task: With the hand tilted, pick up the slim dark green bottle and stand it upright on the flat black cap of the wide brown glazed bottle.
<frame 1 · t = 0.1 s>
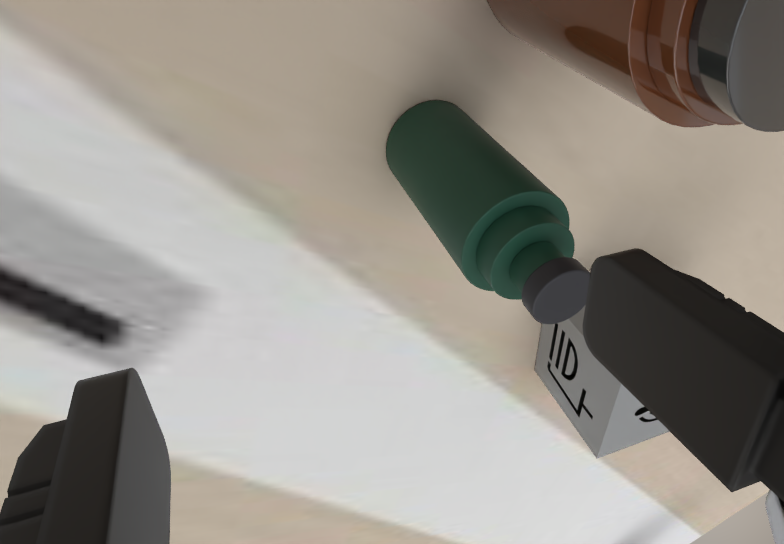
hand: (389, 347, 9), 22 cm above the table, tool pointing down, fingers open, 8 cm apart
icon cube: (587, 317, 50), on the table
green bottle: (428, 144, 33), on the table
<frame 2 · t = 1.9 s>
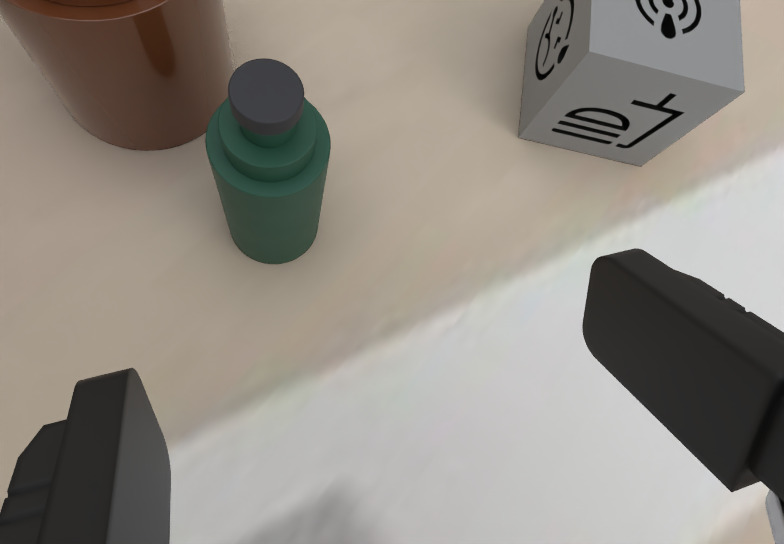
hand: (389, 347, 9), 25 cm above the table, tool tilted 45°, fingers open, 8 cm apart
icon cube: (582, 97, 43), on the table
green bottle: (274, 222, 35), on the table
brown bottle: (148, 75, 36), on the table
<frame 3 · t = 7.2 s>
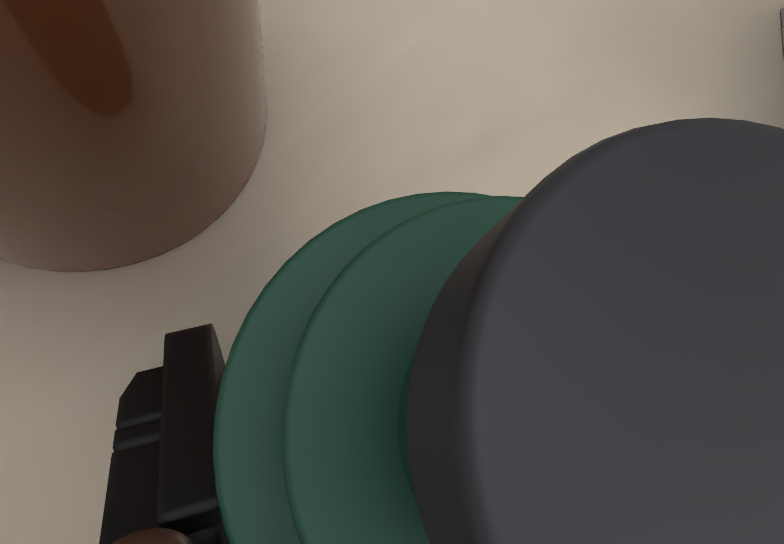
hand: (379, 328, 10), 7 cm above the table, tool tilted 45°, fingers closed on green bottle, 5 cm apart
green bottle: (356, 423, 16), on the table, touching gripper
brown bottle: (91, 106, 18), on the table
when the fingers open (23 cm above the table, at t = 15.1 s): green bottle stays where it is, resting on brown bottle.
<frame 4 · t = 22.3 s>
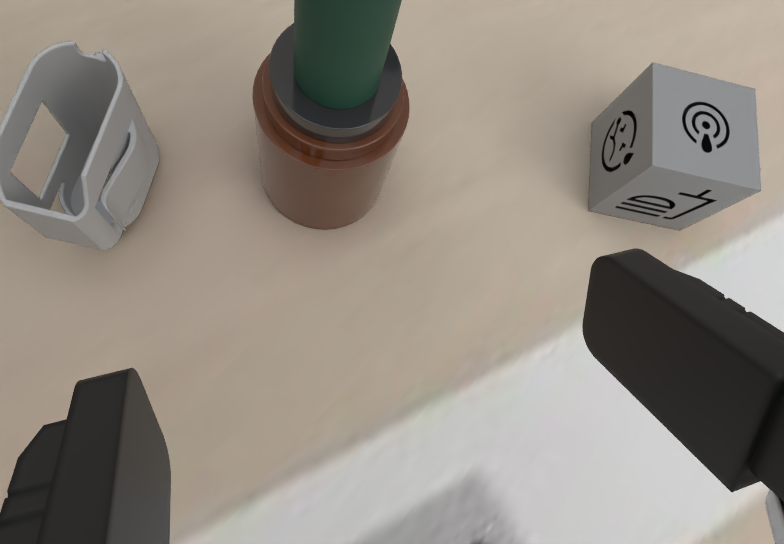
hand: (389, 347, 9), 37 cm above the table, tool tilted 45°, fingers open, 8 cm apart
icon cube: (634, 176, 56), on the table
green bottle: (337, 71, 35), point 15 cm above the table, touching brown bottle
cable organizer: (113, 198, 46), on the table
brown bottle: (322, 172, 50), on the table
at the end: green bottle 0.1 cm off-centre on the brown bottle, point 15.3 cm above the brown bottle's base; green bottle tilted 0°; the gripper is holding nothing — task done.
